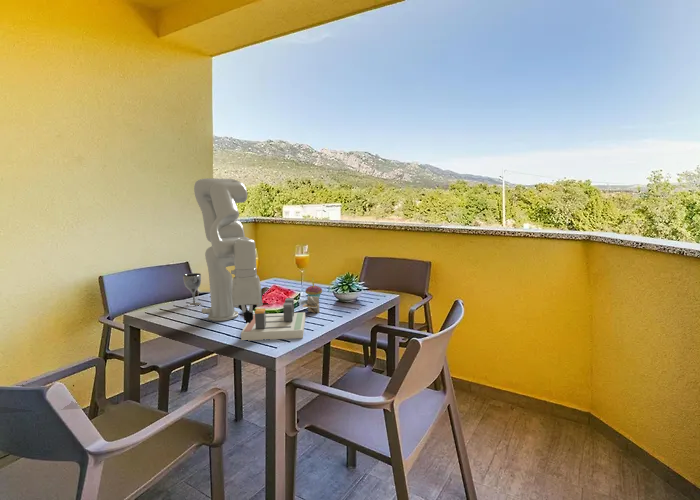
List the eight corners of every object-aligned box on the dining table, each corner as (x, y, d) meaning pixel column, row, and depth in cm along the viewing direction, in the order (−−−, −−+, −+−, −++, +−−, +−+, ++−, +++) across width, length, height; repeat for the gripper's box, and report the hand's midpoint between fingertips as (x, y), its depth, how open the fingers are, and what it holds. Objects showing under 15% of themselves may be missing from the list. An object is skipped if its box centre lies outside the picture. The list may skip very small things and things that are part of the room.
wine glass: (206, 303, 185) (204, 274, 183) (192, 307, 178) (189, 276, 176) (196, 301, 189) (194, 272, 187) (182, 305, 183) (179, 275, 181)
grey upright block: (255, 329, 136) (254, 311, 135) (257, 325, 140) (256, 308, 139) (264, 328, 136) (263, 311, 135) (266, 325, 140) (265, 308, 139)
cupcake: (321, 301, 185) (320, 278, 183) (304, 301, 185) (303, 278, 183) (323, 297, 193) (322, 274, 192) (306, 297, 193) (306, 274, 192)
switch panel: (241, 340, 134) (239, 313, 133) (252, 321, 156) (251, 298, 154) (302, 338, 135) (301, 311, 134) (305, 319, 157) (304, 296, 156)
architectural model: (316, 315, 164) (316, 298, 163) (302, 314, 166) (301, 297, 165) (319, 313, 167) (319, 297, 166) (305, 312, 169) (305, 296, 168)
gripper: (222, 275, 131) (225, 326, 133) (265, 274, 132) (267, 324, 134) (227, 271, 138) (230, 319, 140) (268, 270, 139) (270, 318, 141)
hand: (248, 321), depth 137 cm, fingers closed
